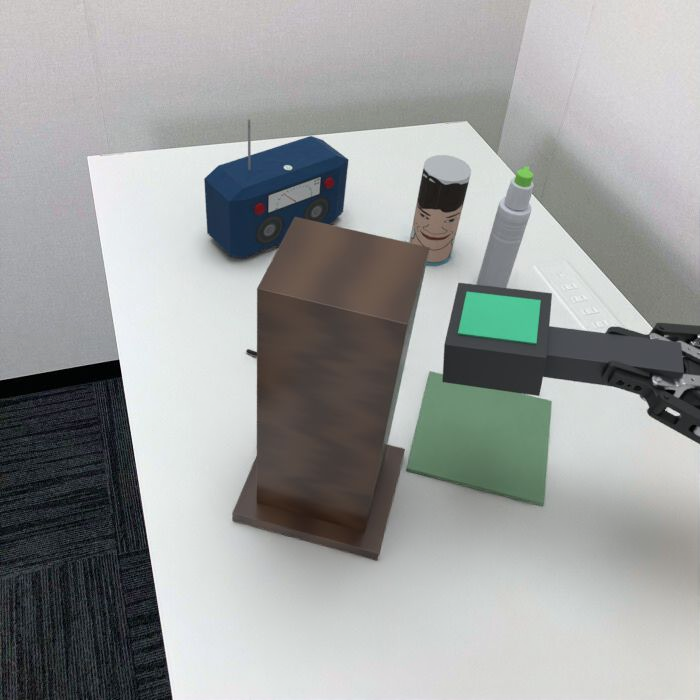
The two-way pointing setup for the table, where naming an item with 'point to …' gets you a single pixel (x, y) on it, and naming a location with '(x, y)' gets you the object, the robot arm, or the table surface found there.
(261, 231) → the radio
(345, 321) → the stand
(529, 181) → the bottle
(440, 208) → the printed can
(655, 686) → the table surface
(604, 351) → the green-topped block with handle
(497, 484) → the mat
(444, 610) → the table surface
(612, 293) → the table surface
